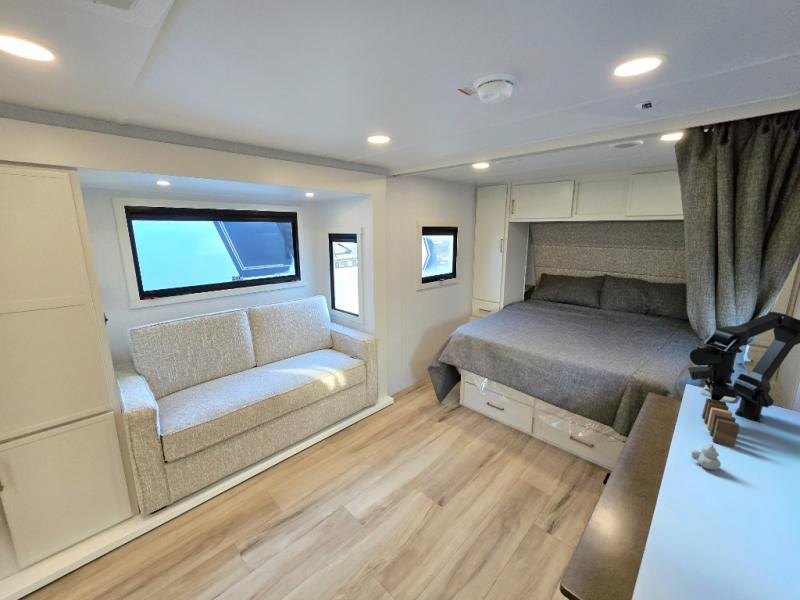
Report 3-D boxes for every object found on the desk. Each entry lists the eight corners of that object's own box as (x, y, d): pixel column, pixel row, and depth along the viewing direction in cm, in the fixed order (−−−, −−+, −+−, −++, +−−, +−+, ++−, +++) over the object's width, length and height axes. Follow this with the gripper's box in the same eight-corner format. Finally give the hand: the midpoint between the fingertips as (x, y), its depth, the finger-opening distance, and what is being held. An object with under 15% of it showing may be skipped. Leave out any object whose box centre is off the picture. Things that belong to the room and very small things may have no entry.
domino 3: (706, 427, 115) (711, 407, 113) (725, 432, 113) (730, 411, 111) (707, 429, 114) (712, 409, 112) (727, 434, 111) (732, 413, 109)
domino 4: (709, 433, 112) (713, 412, 110) (729, 438, 109) (734, 417, 108) (710, 435, 111) (715, 414, 109) (730, 440, 108) (735, 419, 106)
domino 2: (703, 421, 119) (708, 401, 117) (722, 426, 116) (727, 405, 114) (705, 423, 117) (709, 403, 115) (723, 428, 115) (728, 407, 113)
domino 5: (712, 439, 109) (716, 418, 107) (732, 444, 106) (738, 423, 104) (713, 442, 107) (718, 420, 106) (734, 447, 105) (739, 425, 103)
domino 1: (701, 415, 122) (706, 398, 119) (719, 419, 119) (725, 401, 116) (702, 418, 121) (707, 400, 118) (720, 422, 118) (726, 404, 115)
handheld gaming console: (699, 391, 137) (709, 381, 146) (699, 394, 138) (708, 384, 146) (732, 401, 129) (740, 389, 138) (732, 404, 130) (740, 393, 138)
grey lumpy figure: (719, 476, 93) (724, 452, 91) (688, 465, 98) (693, 441, 96) (719, 466, 97) (724, 442, 95) (689, 455, 101) (694, 433, 100)
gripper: (688, 350, 128) (680, 387, 131) (697, 368, 113) (689, 408, 116) (727, 356, 122) (718, 394, 125) (742, 375, 107) (732, 418, 110)
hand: (713, 403), depth 119 cm, fingers closed
